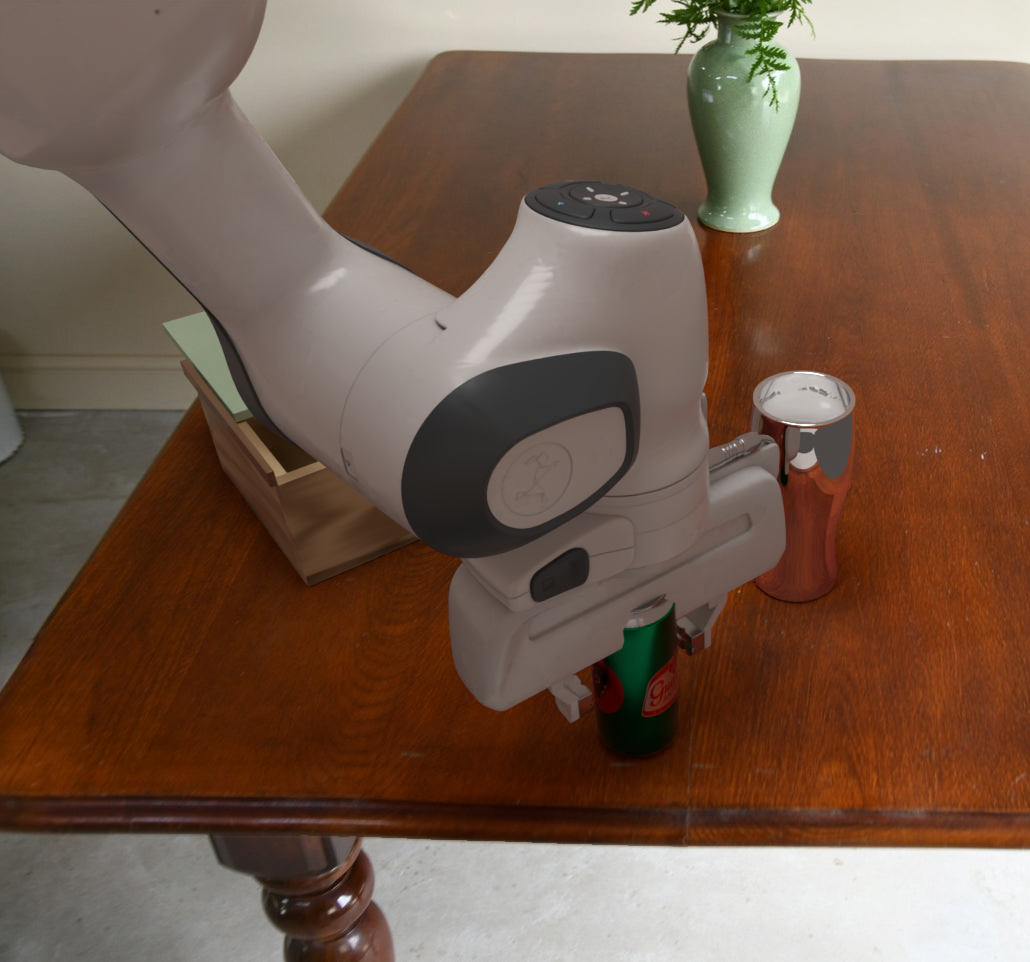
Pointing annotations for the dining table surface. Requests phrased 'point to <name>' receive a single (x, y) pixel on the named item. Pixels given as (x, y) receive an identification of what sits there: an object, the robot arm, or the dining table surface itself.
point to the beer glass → (807, 474)
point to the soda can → (640, 684)
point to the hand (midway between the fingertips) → (635, 677)
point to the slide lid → (207, 359)
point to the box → (298, 496)
